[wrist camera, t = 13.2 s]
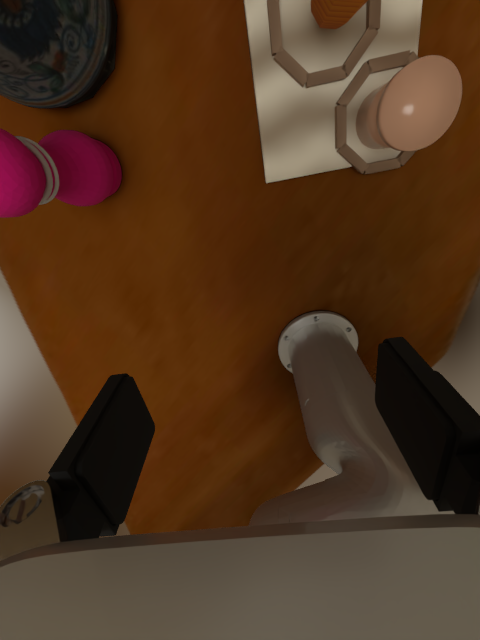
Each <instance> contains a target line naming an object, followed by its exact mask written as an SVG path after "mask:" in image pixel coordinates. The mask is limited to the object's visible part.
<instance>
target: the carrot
mask: <svg viewBox="0 0 480 640" xmlns="http://www.w3.org/2000/svg"><path fill="white" fill-rule="evenodd" d="M367 1H368V0H311V12H312V14H313V16H314V18H315V20H316V22H317V24H318V25H319V27H320V28H326V29H337V28H339V27H341V26H343V25H344V24H346V23H347V22H348V21H349V20H350V19H351V18H352V17H353V16H354V15H355V14H356V12H357V11H358V10H359V9H360V8H361V7H362V6H363V5H364V4H365V3H366V2H367Z"/></svg>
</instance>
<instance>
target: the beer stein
mask: <svg viewBox="0 0 480 640" xmlns="http://www.w3.org/2000/svg"><path fill="white" fill-rule="evenodd" d="M116 31H117V12H116V9H115V5H114V1H113V0H0V95H2V96H4V97H6V98H8V99H10V100H12V101H15V102H17V103H20V104H22V105H26V106H29V107H35V108H57V107H63V108H66V107H69V106H72V105H74V104H77V103H79V102H82V101H85V100H87V99H90V98H93V97H94V95H95V94H96V93H97V91H98V90H99V89H100V87H101V86H102V85H103V83H104V82H105V81H106V79H107V78H108V77H109V75H110V74H111V73H112V71H113V70H114V69H115V51H116Z"/></svg>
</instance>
